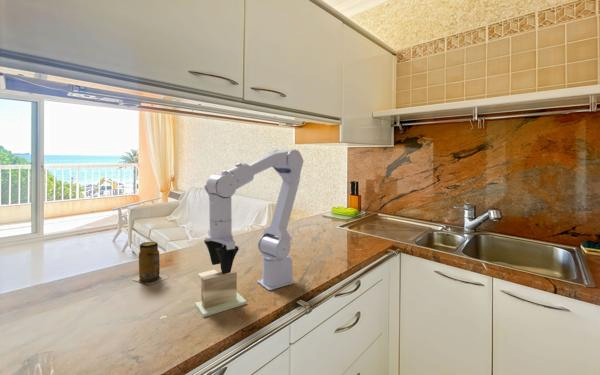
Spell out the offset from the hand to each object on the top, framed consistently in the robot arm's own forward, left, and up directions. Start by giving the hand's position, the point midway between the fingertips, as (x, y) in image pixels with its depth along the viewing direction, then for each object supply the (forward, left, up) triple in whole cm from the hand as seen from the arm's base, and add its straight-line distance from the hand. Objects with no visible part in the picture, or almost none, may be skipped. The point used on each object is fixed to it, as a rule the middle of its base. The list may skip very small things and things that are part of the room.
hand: (220, 268), depth 76 cm
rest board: (0, 0, -10) cm, 10 cm away
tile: (-4, -15, -10) cm, 19 cm away
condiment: (+13, -29, -11) cm, 34 cm away
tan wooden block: (+1, 0, -10) cm, 10 cm away
